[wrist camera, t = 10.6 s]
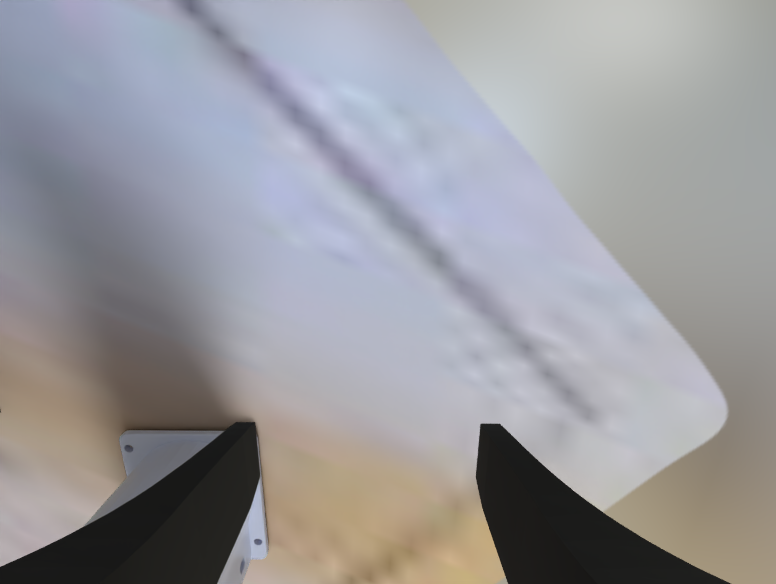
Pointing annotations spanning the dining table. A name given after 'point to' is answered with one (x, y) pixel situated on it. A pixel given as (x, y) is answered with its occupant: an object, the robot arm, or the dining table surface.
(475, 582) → the dining table surface
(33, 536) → the dining table surface
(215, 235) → the dining table surface
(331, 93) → the dining table surface
